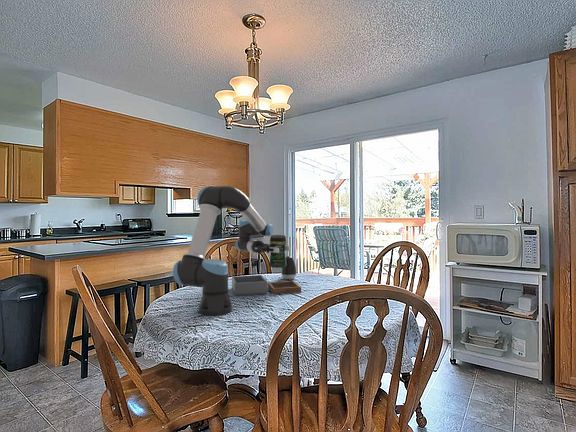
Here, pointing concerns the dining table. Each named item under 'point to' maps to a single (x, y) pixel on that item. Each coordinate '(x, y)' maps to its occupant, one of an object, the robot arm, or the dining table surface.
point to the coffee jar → (279, 258)
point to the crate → (249, 285)
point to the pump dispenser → (289, 269)
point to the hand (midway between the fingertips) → (284, 249)
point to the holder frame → (294, 289)
